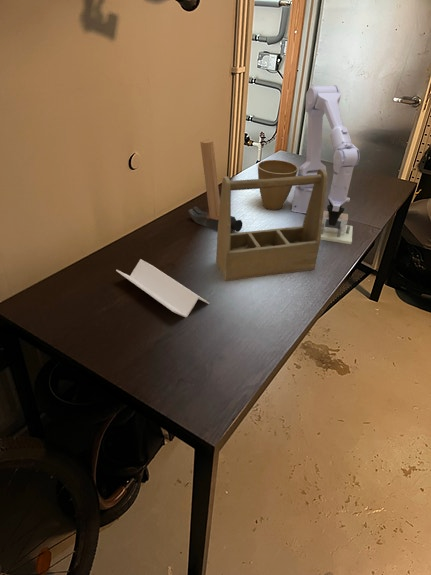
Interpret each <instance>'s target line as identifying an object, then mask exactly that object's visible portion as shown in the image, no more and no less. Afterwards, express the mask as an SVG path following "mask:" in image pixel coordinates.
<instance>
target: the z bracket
mask: <svg viewBox="0 0 431 575" xmlns="http://www.w3.org/2000/svg"><path fill="white" fill-rule="evenodd" d="M115 271H116V272H117V273H119V274H120V275H121V276H122V277H124V279H127V280H128V281H129V282H131V283H132V284H134V285H135V286H136V287H138V288H139V289H140V290H142V291H144V292H145V293H146V294H148V295H149V296H150V297H152V298H153V299H154V300H156V301H157V302H158V303H160V304H162V305H163V306H164V307H166V308H167V309H168V310H170V311H171V312H173V314H174V313H175V314H177V315H179V316H181V317H184V318H188V316H189V314H190V313H191V312H192V310H193V309H194V307H195V305H196V303H197V301H198V300H200V301H202V302H204V303H206V304H208V305H210V304H211V303H210V301H209V302H208V300H206V299H204V298H202V297H201V296H200V295H198V294H197V293H195V292H193V291H192V290H191V289H189V288H188V287H186V286H185V285H183V284H181V283H180V282H179V281H177V280H176V279H174V278H172V277H171V276H169V275H167V274H166V273H164V272H163V271H162V270H160V269H158V268H157V267H155V266H154V265H152V264H150V263H149V262H147V261H145V260H143V259H141V258H140V259H139V260H138V262H137V264H136V265H135V267H134V268H133V270H132V272H131V274H130V275H129V274H127V273H124V272H122V271H121V270H119V269H116V270H115Z"/></svg>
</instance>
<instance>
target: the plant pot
mask: <svg viewBox="0 0 431 575" xmlns="http://www.w3.org/2000/svg"><path fill="white" fill-rule="evenodd" d="M298 172H299V167H298V166H297V165H295V163H292V162H289V161H285V160H280V159H267V160H263V161H260V162H259V163H258V164H257V176H258V177H257V179H273V178H284V177H295V176H297V175H298ZM292 188H293V186H284V187H273V188H260V189H259V193H260V198H261V202H262V206H263V207H264V208H265V209H267V208H268V210H271V211H272V210H273V211H278V210H280V209H282V208H283V206H284V205H285V203H286V200H287V199H288V197H289V194H290V193H291V190H292Z"/></svg>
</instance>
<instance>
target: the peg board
mask: <svg viewBox="0 0 431 575" xmlns="http://www.w3.org/2000/svg"><path fill="white" fill-rule="evenodd" d="M323 229H324V227H323V226H322V230H321V239H320V241H321V240H322V241H328V242H334V243H339V244H346V245H352V243H353V225H348V224H347V225H346V229H345V234H344V235H341V231H342V230H341V229H339V230H338V234H332V233H326V232H323Z"/></svg>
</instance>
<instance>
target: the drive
mask: <svg viewBox="0 0 431 575" xmlns="http://www.w3.org/2000/svg"><path fill="white" fill-rule="evenodd" d="M348 220H349V214H348V213H344V212H343V213H342V214H341V215H340V217H339V218H338V221H337V223H336V225H335V226H332V225H329V213H328V210H324V213H323V221H322V226H323V227H324V229H323V232H326V233H332V234H338V230H339V229H341V230H342V231H341V235H344V234H345V229H346V225H348Z"/></svg>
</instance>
